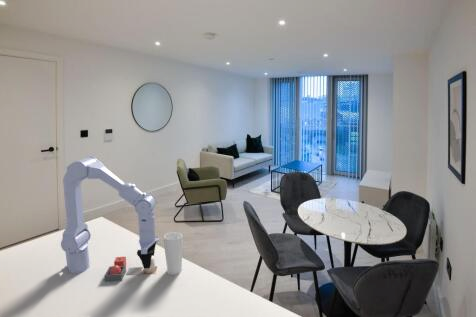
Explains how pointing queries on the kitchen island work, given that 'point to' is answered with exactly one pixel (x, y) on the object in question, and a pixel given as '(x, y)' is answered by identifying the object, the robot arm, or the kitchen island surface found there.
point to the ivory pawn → (151, 266)
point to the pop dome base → (115, 276)
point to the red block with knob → (120, 261)
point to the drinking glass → (173, 252)
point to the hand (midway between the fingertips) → (148, 262)
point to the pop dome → (115, 270)
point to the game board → (138, 271)
